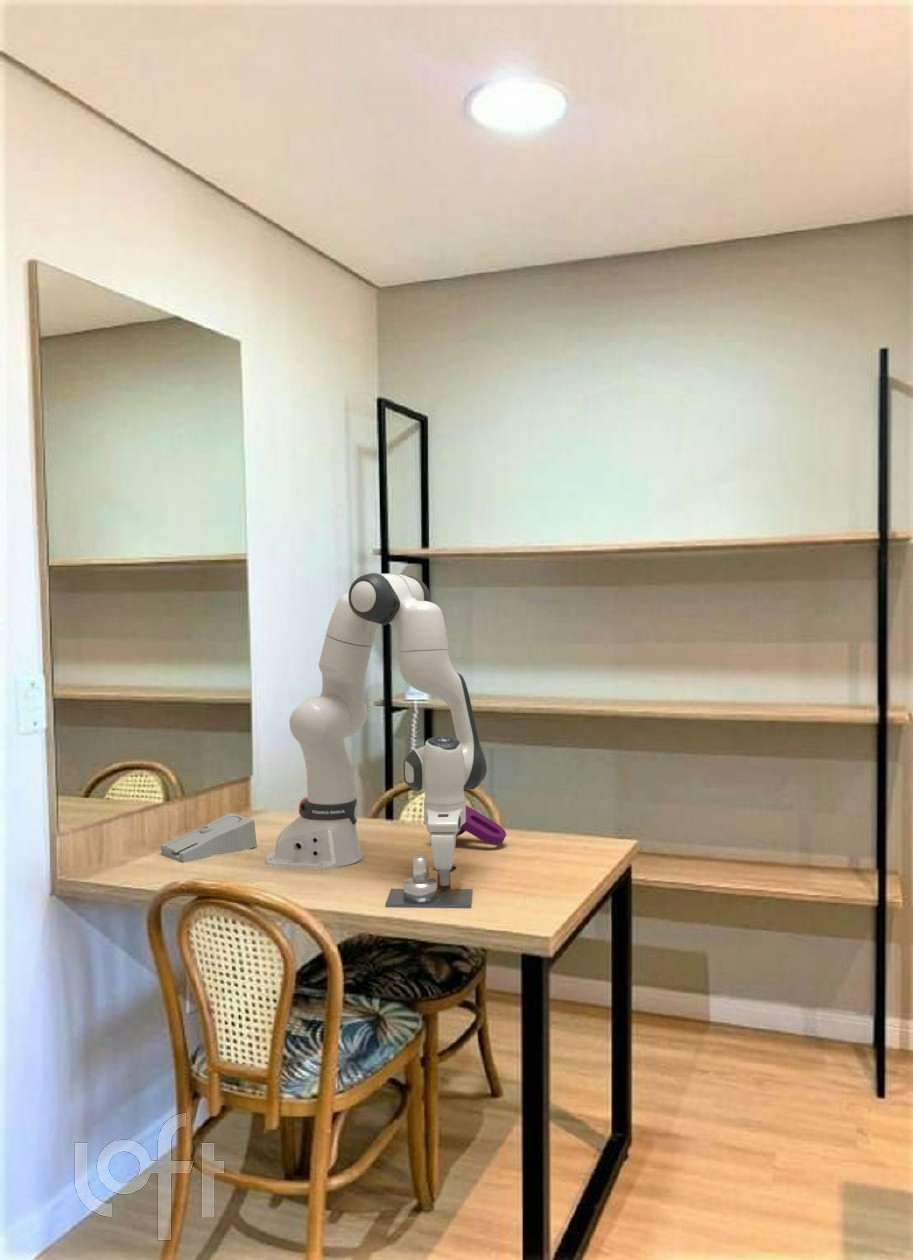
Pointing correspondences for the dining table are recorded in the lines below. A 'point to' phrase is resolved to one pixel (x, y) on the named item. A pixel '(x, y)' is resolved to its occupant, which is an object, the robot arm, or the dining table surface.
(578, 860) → the dining table surface
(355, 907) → the dining table surface
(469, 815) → the mounting bracket
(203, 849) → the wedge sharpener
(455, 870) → the ring
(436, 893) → the base with metal peg
